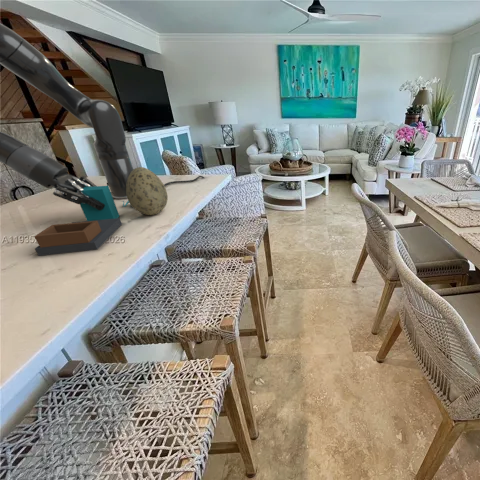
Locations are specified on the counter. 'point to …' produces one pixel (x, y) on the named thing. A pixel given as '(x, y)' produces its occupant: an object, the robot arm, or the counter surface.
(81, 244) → the brown tray on base
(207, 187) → the counter surface
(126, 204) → the dragon figurine
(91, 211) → the teal rectangular block
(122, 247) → the counter surface
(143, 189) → the decorative egg
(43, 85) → the robot arm
